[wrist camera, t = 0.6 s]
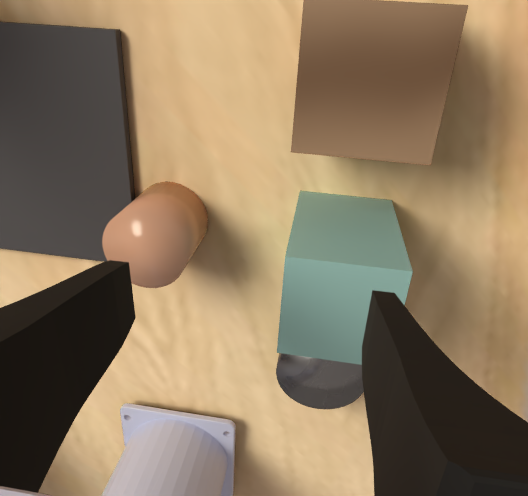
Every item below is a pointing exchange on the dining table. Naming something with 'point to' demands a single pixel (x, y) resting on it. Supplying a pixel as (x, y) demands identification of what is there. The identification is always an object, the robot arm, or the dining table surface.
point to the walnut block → (374, 78)
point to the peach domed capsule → (157, 233)
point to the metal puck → (319, 381)
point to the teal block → (338, 273)
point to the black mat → (62, 138)
